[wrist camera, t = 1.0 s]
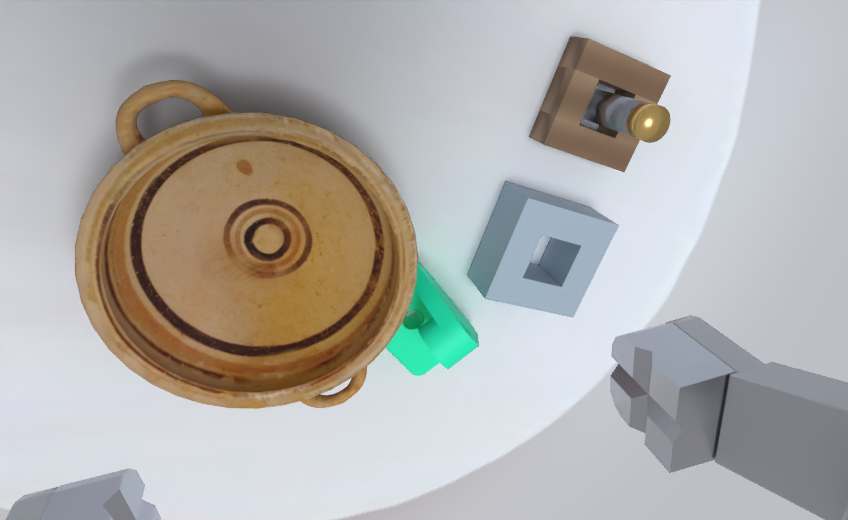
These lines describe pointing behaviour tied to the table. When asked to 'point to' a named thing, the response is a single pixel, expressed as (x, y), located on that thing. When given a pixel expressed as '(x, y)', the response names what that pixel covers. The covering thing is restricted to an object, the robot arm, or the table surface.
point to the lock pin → (628, 116)
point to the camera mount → (432, 329)
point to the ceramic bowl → (244, 256)
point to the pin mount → (575, 91)
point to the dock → (562, 260)
